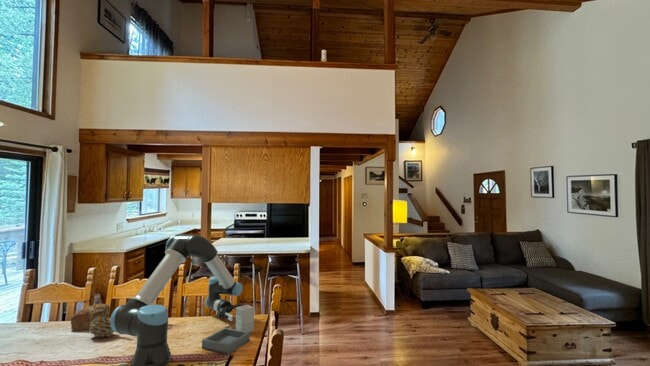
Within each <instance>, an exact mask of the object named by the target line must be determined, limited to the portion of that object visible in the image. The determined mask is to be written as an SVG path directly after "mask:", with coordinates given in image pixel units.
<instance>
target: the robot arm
mask: <svg viewBox="0 0 650 366" xmlns="http://www.w3.org/2000/svg"><path fill="white" fill-rule="evenodd" d="M165 245H166V246H165V251H164V254H165V255H164V257H163V258H162V259H161V261H160V262H159V263H158V265H157V266H156V267H155V269H154V271H153V272H152V273H151V275H150V276H149V277H148V279H147V280H146V281H145V283H144V284H143V285H142V287H141V288H140V290H139V291H138V293H137V294H136V295H135V296H133V297H130V298H129V299H128V300H127V302H126V303H125V304H121V305H120V306H117V307H116V308H114V310H113V312H112V313H111V314H110V317H109V318H110V326H111V328H112V330H113V331H115V332H114V333H118V334H120V335H126V336H131V337H136V347H135V351H134V354H133V356H132V359H131V361H130V366H167V365H168V364H169V363H170V362H169V360H170V359H171V360H172V352H171V350H170V347H169V344H168V331H169V329H168V327H169V313H168V312H169V311H168V309H167V307H166V306H164V305H161V304H154V303H155V302H156V300H157V298H158V297H159V295H160V294H161V293H162V291H163V290H164V288H165V286H166V285H167V284H168V282H169V281H170V279H171V278H172V276H173V275H174V273H175V272H176V270H177V269H178V268H179V267H180V265H181V264H184V263H185V262H186V261H187V260H188V259H189V257H194V258H197V259H199V260H200V262H201V263H204V264H205V265H206V266H207V268H208V269H209V270H210V271H211V273H212V275H213V276H212V277H210V278H209V279H208V296H207V297H206V299H205V301H204V302H205V303H204V304H205V306H206V307H207V308H208V309H210V310H213V311H215V312H216V315H217V316H218V319H219V320H220V319H221V320H225V319H226V320H228V321H230V322H233V321H234V319H233V318H234V317H233V314H230V313H232V312H231V311H232V309H234V308H235V309H234V310H236V307H240V306H244V305H245V304H241V303H235V304H232V303H231V301H229V300H226V299H223V298H222V295H228V296H232V297H234V296H237V297H239V296H240V295H241V294H242V292H243V284H242V283H241V282H237V281H235V278H234V277H233V276H232V274H231V273H230V271H229V270H228V269H227V266H226V265H225V264H224V263H223V261H222V259H221V258H220V256H219V255H218V250H217V248H216V247H215V245H213V243H212V242H211V241H210V240H209V239H207V238H206V237H205V236H202V235H200V234H187V233H177V234H173V235H171V236H170V237H169V238H168V239H167V241H166V243H165ZM219 294H221V296H220V295H219ZM237 305H238V306H237ZM171 360H170V361H171ZM168 362H169V363H168ZM167 363H168V364H167ZM166 364H167V365H166Z"/></svg>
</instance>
